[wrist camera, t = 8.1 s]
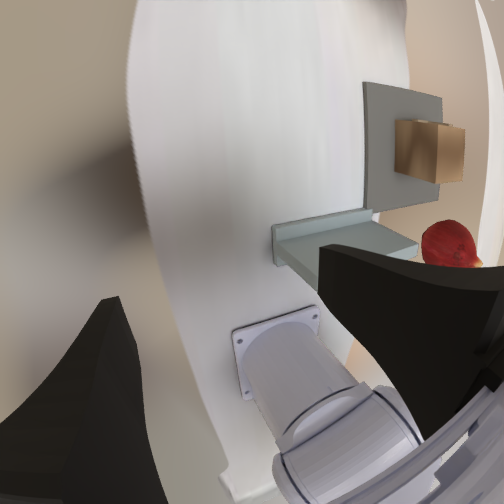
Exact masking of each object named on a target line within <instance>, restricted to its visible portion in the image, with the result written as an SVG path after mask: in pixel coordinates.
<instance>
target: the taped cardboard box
mask: <svg viewBox="0 0 504 504" xmlns="http://www.w3.org/2000/svg"><path fill="white" fill-rule="evenodd" d="M464 149H465V129H461V128H456V127H453V125H452V124H445V123H439V122H432V121H425V120H418V119H412V121H406V120H396V119H395V164H394V172H397V173H401V174H404V175H408V176H411V177H415V178H418V179H421V180H424V181H428V182H431V183H434V184H439V183H448V182H456V181H462V176H463V165H464Z"/></svg>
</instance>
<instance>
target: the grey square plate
mask: <svg viewBox="0 0 504 504" xmlns="http://www.w3.org/2000/svg"><path fill="white" fill-rule="evenodd" d="M363 92H364V113H365V188H364V208H365V209H370V208H371V209H373V210H372V214H373V213H378V212H383V211H387V210H393V209H397V208H402V207H407V206H412V205H417V204H422V203H427V202H432V201H437V200H438V197H439V188H440V183H439V184H434V183H431V182H428V181H424V180H421V179H418V178H415V177H411V176H408V175H404V174H401V173H397V172H394V164H395V119H396V120H406V121H412V119H418V120H425V121H432V122H439V123H443V118H442V117H443V115H442V98H440V97H437V96H433V95H429V94H425V93H421V92H416V91H413V90H408V89H403V88H399V87H394V86H388V85H383V84H377V83H371V82H363Z"/></svg>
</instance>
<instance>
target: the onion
mask: <svg viewBox="0 0 504 504" xmlns="http://www.w3.org/2000/svg"><path fill="white" fill-rule="evenodd" d="M421 248H422V256H423V260H424V261H425V263H426V264H431V265H438V266H448V267H463V268H480V267H481V266H482V265H483V263H482V261H481V260H480V259H479V258H478V257H477V253H476V247H475V243H474V240H473V238H472V235H471V234H470V232H469V231H468V230H467V228H466V227H464V226H463V225H461V224H460V223H458V222H456V221H455V220H445V221H440V222H437V223H435V224H433V225H432V226H430V227H429V228H428V229H427V230H426V231H425V232H424V233H423V235H422V243H421Z"/></svg>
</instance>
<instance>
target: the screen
mask: <svg viewBox="0 0 504 504" xmlns="http://www.w3.org/2000/svg"><path fill="white" fill-rule="evenodd" d="M372 210H373V209H371V208H370V209H365V208H360V209H355V210H350V211H345V212H339V213H334V214H329V215H324V216H319V217H314V218H309V219H304V220H299V221H294V222H289V223H284V224H279V225H274V226H272V236H273V256H274V264H275V265H276V266H277V267H279V266H283V265H288V266H290V267H291V268H292V269H293V270H294V271H295V272H296V273H297V274H298V275H299V276H300V277H301V278H303V279H304V280H305V281H306V282H307V283H308V284H309V285H310V286H311V287H312V288H313V289H314V290H315V291H316V292H317V291H318V269H319V247H322V246H326V245H330V244H340V245H345V246H350V247H355V248H359V249H363V250H367V251H371V252H375V253H378V254H382V255H386V256H390V257H395V258H399V259H404V260H408V259H410V258H413V257H416V256H417V252H418V245H419V244H418V243H416V242H415V241H413V240H411V239H409V238H407V237H405V236H403V235H401V234H399V233H397V232H395V231H393V230H391V229H389V228H387V227H385V226H383V225H380V224H378V223H376V222H374V221H372Z"/></svg>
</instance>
